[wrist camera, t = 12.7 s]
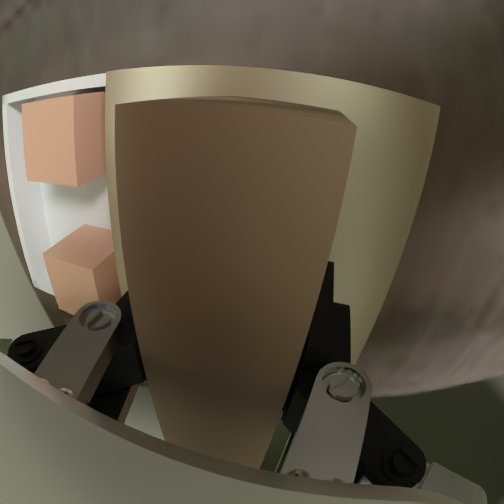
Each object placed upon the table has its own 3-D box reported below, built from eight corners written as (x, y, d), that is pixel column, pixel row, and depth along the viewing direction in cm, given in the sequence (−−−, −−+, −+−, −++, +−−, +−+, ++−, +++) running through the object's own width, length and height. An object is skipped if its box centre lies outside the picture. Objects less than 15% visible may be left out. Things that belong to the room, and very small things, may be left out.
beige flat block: (410, 103, 11) (440, 106, 8) (341, 342, 18) (339, 393, 15) (156, 72, 13) (106, 71, 9) (160, 299, 20) (130, 339, 16)
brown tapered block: (339, 110, 9) (357, 127, 3) (282, 371, 15) (254, 479, 9) (230, 95, 9) (115, 104, 4) (214, 355, 15) (169, 454, 10)
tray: (156, 72, 13) (121, 71, 10) (160, 299, 20) (138, 328, 17) (36, 89, 14) (2, 95, 12) (57, 266, 21) (34, 286, 19)
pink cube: (73, 95, 9) (21, 104, 10) (77, 186, 11) (27, 180, 12) (128, 89, 13) (74, 94, 13) (127, 163, 15) (76, 159, 15)
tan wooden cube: (92, 270, 14) (42, 253, 14) (106, 328, 16) (58, 308, 16) (133, 234, 17) (84, 224, 18) (139, 289, 19) (93, 275, 20)
